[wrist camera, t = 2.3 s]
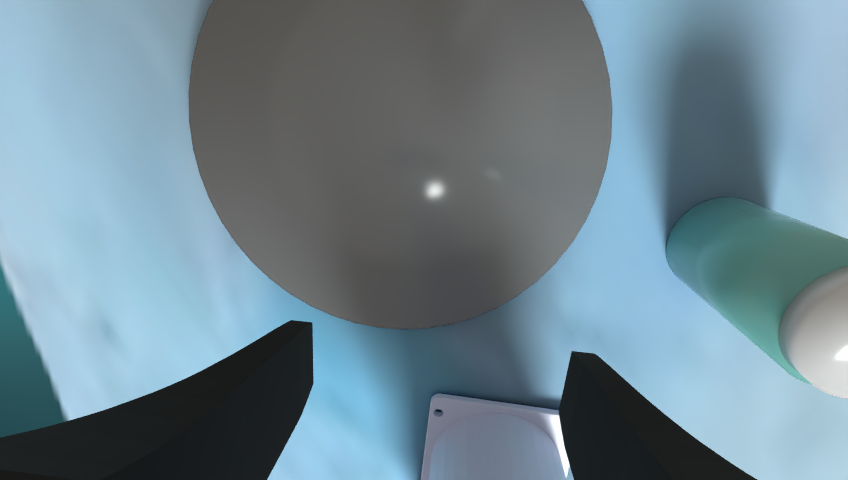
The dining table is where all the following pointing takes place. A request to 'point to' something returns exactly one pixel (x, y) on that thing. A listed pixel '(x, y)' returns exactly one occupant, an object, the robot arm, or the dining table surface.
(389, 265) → the slate plate
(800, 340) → the pepper shaker
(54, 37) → the dining table surface
